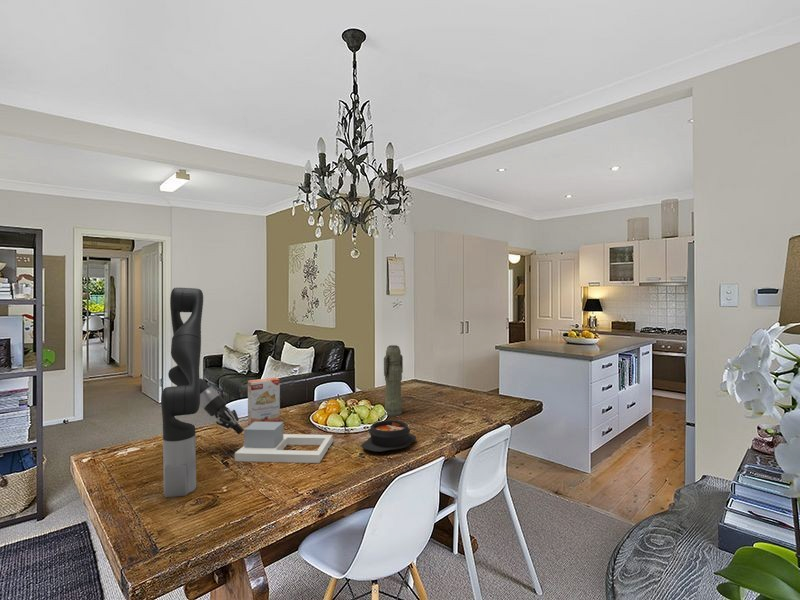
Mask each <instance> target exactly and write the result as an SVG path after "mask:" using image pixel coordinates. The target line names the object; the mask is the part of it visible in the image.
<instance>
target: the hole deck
mask: <svg viewBox="0 0 800 600" xmlns="http://www.w3.org/2000/svg"><path fill="white" fill-rule="evenodd" d="M333 438H334V437H333V434H308V433H307V434H300V433H299V434H297V433H296V434H295V433H283V440H282V441H281V442H280V443H279V444H278V445H277V446H276V447H275V448H248V447H244V445H243V446H242V447H240V448H239V449H237V450H236V451H235V452H234V462H251V463H252V462H255V463H259V462H260V463H293V464H294V463H295V464H296V463H297V464H298V463H300V464H302V463H303V464H304V463H307V464H320V463H321V461H322V459H324V457H325V454H326V453H327V452H328V450H329V449H330V447H331V445H332V444H333V441H334V439H333ZM289 445H290V446H291V445H292V446H319V447H318V448H317V450H293V449H292V450H288V449H285V448H286V447H287V446H289ZM328 448H329V449H328Z"/></svg>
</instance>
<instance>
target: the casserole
mask: <svg viewBox="0 0 800 600" xmlns="http://www.w3.org/2000/svg"><path fill="white" fill-rule="evenodd" d="M368 433H369V434H370V437H368V439H367V440H366V441H364V442H362V443H361V447H362V448H363V449H365V450H367V451H371V452H373V453H374V452H375V453H382V452H387V451H397V450H401V449H405V448H408V447H409V446H411V444H412V443H413V442H414V441H415V440H416V439H417V436H416V435H414V434H413V433H411V429H410V428H409V426H408V424H407V423H406V422H404V421H401V420H395V419H394V420H392V419H390V420H389V419H388V420H380V421H376V422H374V423H372V424H371V425H370V428H369V429H368Z"/></svg>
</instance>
